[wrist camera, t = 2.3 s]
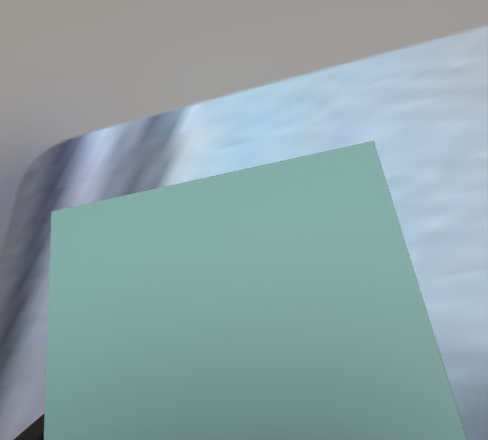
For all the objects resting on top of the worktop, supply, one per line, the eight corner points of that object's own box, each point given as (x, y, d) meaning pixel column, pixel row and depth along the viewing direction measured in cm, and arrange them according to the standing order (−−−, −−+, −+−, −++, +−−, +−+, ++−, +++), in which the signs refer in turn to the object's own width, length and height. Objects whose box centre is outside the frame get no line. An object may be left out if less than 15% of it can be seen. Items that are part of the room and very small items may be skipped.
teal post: (374, 447, 15) (503, 559, 4) (258, 464, 16) (37, 614, 4) (346, 329, 17) (373, 141, 5) (242, 347, 17) (51, 211, 6)
